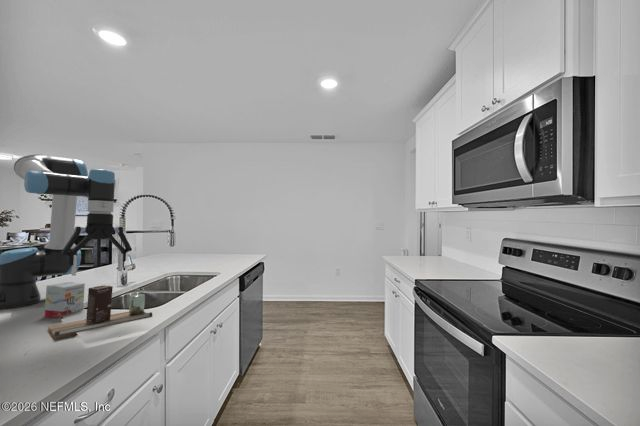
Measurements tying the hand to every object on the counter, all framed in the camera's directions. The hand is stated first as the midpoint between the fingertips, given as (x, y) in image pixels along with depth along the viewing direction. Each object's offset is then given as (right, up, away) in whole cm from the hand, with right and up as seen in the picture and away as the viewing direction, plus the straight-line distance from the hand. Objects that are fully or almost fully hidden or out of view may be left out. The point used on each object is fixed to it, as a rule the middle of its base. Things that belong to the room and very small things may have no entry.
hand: (97, 272), depth 108 cm
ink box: (-20, -18, +10) cm, 29 cm away
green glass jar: (+8, -18, +9) cm, 21 cm away
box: (0, -17, 0) cm, 17 cm away
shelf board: (+2, -18, 0) cm, 18 cm away
